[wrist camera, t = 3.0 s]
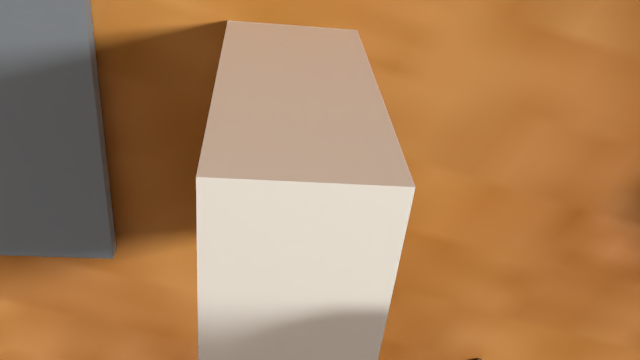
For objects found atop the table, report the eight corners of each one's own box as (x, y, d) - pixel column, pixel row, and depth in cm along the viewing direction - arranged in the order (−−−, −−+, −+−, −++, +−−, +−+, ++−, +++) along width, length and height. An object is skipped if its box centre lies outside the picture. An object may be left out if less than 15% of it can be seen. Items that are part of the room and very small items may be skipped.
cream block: (332, 212, 22) (364, 424, 15) (224, 208, 22) (199, 424, 14) (357, 29, 19) (415, 187, 11) (227, 20, 18) (195, 176, 11)
